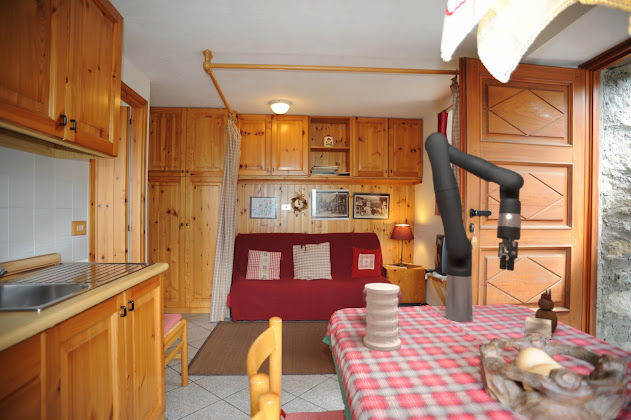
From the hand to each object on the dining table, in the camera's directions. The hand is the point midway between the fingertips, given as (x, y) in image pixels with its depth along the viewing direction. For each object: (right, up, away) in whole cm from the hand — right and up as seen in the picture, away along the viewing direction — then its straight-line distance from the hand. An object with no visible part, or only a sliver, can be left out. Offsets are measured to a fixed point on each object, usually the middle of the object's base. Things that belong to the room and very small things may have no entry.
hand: (506, 269), depth 119 cm
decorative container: (-50, -20, -17) cm, 56 cm away
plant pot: (-46, -21, +1) cm, 50 cm away
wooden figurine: (+12, -21, -5) cm, 24 cm away
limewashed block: (+5, -20, -9) cm, 23 cm away
